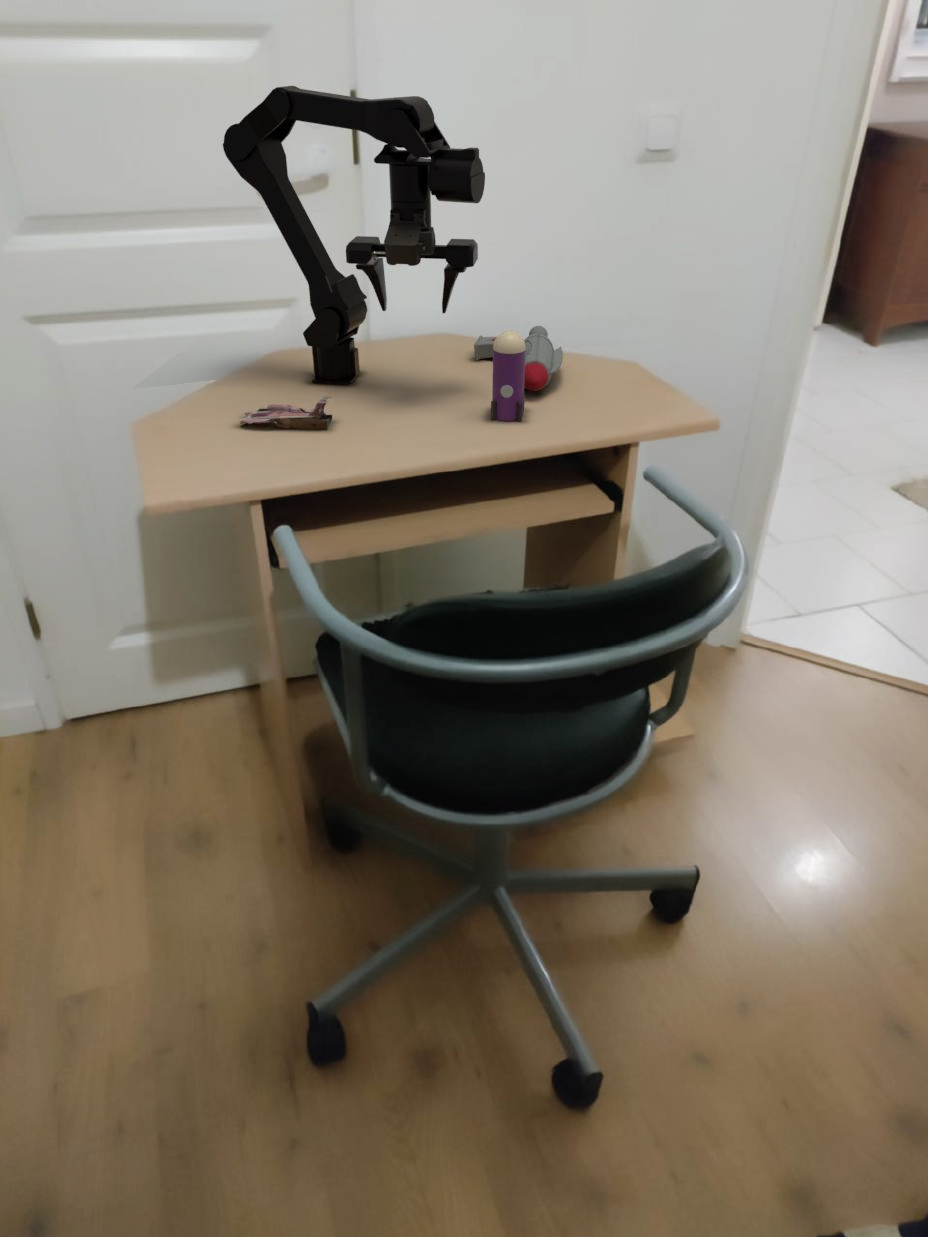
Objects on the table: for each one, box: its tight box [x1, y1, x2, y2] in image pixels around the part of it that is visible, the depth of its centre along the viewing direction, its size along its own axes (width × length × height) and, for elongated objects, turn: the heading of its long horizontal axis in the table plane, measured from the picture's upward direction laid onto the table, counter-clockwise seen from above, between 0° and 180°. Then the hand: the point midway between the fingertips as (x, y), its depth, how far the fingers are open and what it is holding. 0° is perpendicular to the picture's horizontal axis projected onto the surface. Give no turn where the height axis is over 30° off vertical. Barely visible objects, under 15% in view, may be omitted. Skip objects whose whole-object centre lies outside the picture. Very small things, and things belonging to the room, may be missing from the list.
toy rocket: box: [490, 330, 526, 423], centre depth 130 cm, size 5×5×12 cm
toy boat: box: [239, 395, 333, 430], centre depth 129 cm, size 13×6×4 cm, turn 84°
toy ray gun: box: [473, 325, 564, 392], centre depth 147 cm, size 6×25×15 cm
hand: (414, 311), depth 136 cm, fingers open, 9 cm apart
